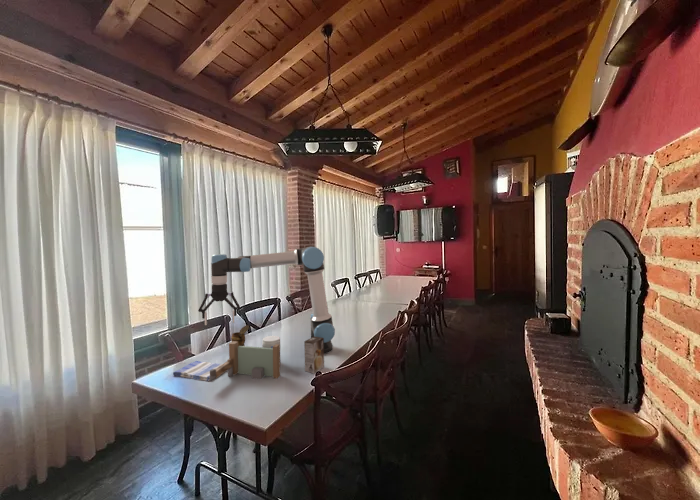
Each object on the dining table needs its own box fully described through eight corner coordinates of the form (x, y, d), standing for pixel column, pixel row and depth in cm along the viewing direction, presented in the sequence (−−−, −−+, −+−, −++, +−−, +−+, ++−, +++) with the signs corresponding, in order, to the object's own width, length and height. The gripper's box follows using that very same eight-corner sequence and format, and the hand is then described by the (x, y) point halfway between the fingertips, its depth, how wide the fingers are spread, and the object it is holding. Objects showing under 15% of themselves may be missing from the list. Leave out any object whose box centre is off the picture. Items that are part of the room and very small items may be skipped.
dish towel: (209, 382, 148) (209, 377, 147) (171, 376, 154) (171, 371, 154) (232, 367, 164) (232, 362, 164) (197, 363, 171) (197, 358, 171)
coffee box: (314, 364, 166) (314, 335, 166) (324, 367, 163) (324, 337, 162) (304, 371, 158) (304, 340, 158) (314, 373, 155) (314, 343, 154)
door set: (280, 375, 154) (279, 344, 153) (274, 381, 147) (273, 349, 147) (233, 371, 159) (232, 341, 158) (226, 376, 152) (225, 345, 152)
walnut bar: (229, 365, 155) (229, 357, 154) (233, 365, 154) (233, 357, 154) (208, 379, 139) (208, 371, 139) (213, 380, 138) (213, 371, 138)
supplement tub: (274, 369, 161) (274, 342, 160) (259, 367, 163) (258, 340, 163) (283, 362, 170) (283, 336, 169) (269, 360, 173) (268, 334, 172)
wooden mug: (241, 357, 177) (240, 326, 176) (226, 352, 185) (225, 323, 184) (253, 352, 185) (252, 323, 184) (239, 348, 192) (238, 319, 191)
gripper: (244, 281, 168) (244, 319, 169) (193, 283, 159) (194, 323, 160) (244, 283, 161) (244, 322, 162) (192, 285, 152) (192, 327, 153)
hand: (219, 323), depth 161 cm, fingers open, 13 cm apart
